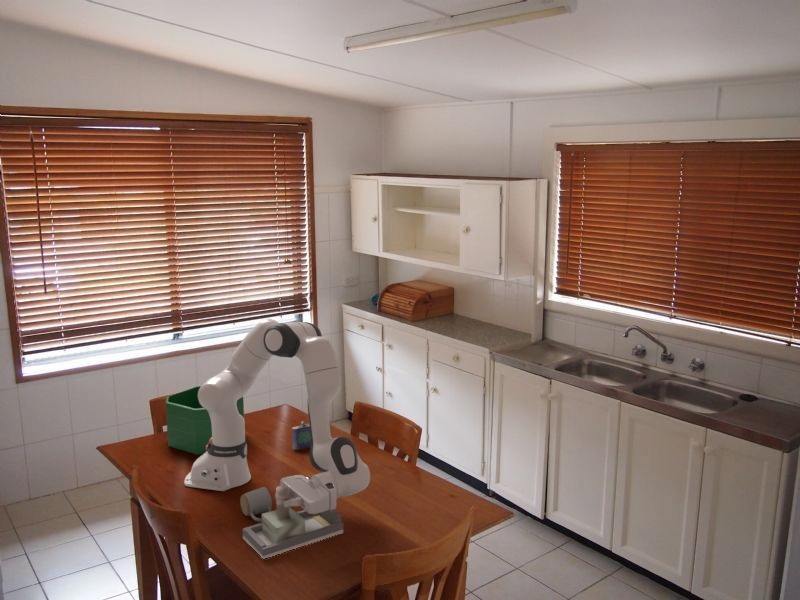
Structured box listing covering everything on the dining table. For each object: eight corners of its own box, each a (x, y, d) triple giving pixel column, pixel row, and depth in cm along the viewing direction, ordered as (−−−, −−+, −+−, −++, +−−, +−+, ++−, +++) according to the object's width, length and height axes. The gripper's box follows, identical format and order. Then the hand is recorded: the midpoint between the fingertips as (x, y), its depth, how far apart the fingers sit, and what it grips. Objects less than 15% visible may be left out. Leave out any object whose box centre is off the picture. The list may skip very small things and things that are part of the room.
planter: (207, 423, 298) (205, 382, 294) (253, 435, 285) (252, 393, 281) (158, 443, 276) (156, 399, 272) (206, 457, 263) (204, 411, 259)
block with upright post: (277, 546, 199) (275, 498, 196) (262, 531, 207) (260, 485, 204) (305, 537, 204) (304, 490, 201) (289, 523, 212) (288, 478, 209)
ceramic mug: (239, 511, 222) (238, 489, 220) (263, 504, 227) (262, 482, 225) (252, 526, 213) (251, 503, 212) (276, 518, 218) (276, 496, 216)
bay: (263, 560, 195) (262, 543, 194) (242, 538, 206) (242, 522, 205) (343, 532, 210) (343, 517, 209) (320, 514, 221) (320, 498, 220)
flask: (293, 451, 269) (293, 424, 268) (290, 448, 272) (290, 422, 270) (315, 446, 274) (315, 420, 272) (312, 444, 277) (312, 418, 275)
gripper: (305, 466, 219) (264, 477, 211) (338, 491, 202) (295, 503, 194) (305, 485, 220) (264, 496, 212) (338, 511, 203) (296, 524, 195)
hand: (279, 500), depth 203 cm, fingers closed on block with upright post, 4 cm apart
